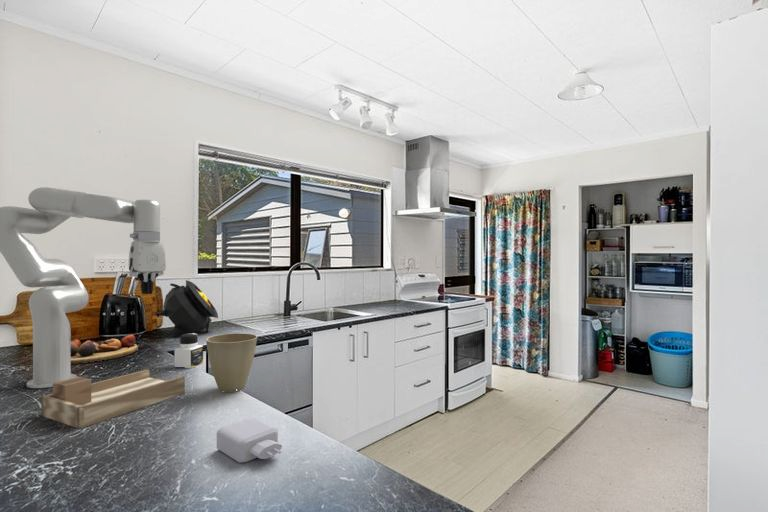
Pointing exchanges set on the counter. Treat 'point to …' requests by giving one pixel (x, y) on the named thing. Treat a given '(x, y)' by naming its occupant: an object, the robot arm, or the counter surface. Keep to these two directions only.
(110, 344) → the wooden plate with food
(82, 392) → the walnut block
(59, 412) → the box
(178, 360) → the medicine bottle
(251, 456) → the charger
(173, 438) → the counter surface
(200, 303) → the cauldron
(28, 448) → the counter surface
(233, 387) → the plant pot
